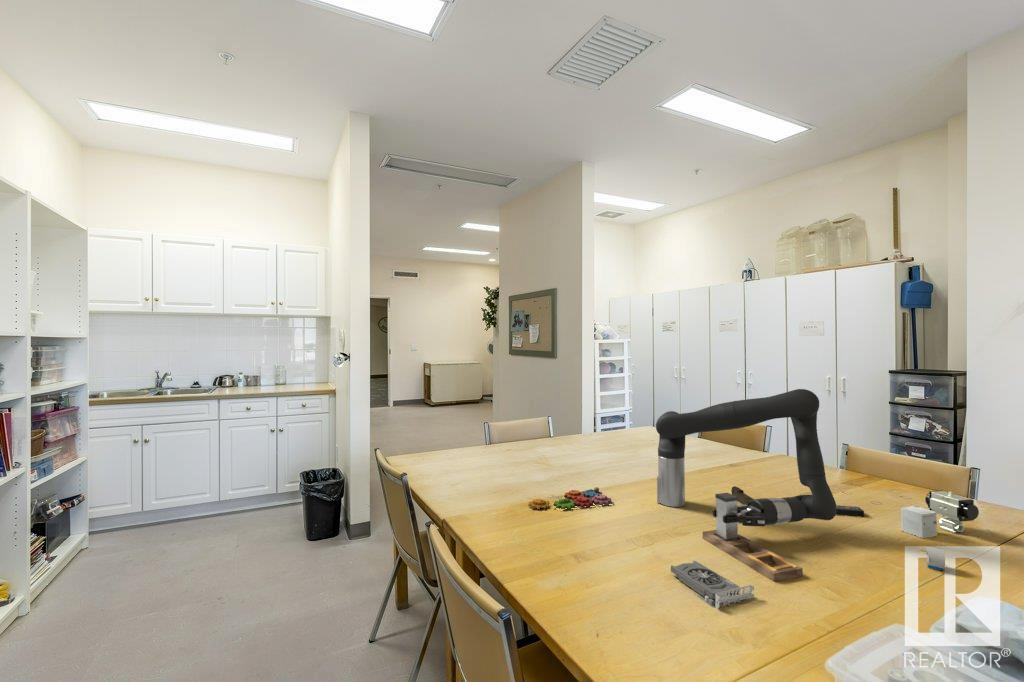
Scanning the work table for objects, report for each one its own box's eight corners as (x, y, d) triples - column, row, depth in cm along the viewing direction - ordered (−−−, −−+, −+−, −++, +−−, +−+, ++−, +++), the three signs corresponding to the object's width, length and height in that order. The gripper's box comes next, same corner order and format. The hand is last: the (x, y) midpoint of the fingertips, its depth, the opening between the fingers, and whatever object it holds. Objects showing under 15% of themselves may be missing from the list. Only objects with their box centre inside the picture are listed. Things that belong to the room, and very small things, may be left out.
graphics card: (758, 586, 105) (717, 595, 101) (758, 603, 105) (717, 613, 100) (703, 555, 121) (666, 562, 116) (703, 570, 120) (666, 577, 116)
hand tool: (767, 515, 155) (767, 501, 155) (756, 515, 155) (755, 502, 155) (739, 496, 174) (739, 484, 174) (729, 497, 174) (728, 484, 174)
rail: (702, 538, 137) (702, 530, 137) (727, 534, 140) (727, 527, 140) (773, 581, 112) (773, 572, 112) (802, 576, 115) (802, 567, 115)
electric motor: (918, 559, 123) (918, 540, 123) (943, 564, 120) (942, 545, 120) (920, 569, 118) (919, 550, 118) (945, 575, 115) (945, 555, 115)
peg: (716, 541, 135) (715, 494, 135) (727, 539, 136) (727, 492, 136) (726, 547, 131) (725, 498, 131) (738, 545, 132) (737, 497, 132)
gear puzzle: (535, 516, 157) (534, 504, 157) (521, 501, 173) (521, 490, 173) (615, 506, 166) (615, 495, 166) (595, 492, 182) (595, 482, 182)
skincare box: (922, 539, 135) (922, 514, 135) (900, 531, 141) (900, 507, 141) (937, 536, 137) (937, 512, 137) (914, 528, 143) (914, 505, 143)
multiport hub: (864, 518, 153) (864, 511, 153) (815, 514, 157) (815, 507, 157) (858, 513, 157) (858, 506, 157) (810, 509, 161) (810, 503, 161)
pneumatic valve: (937, 522, 147) (936, 485, 147) (979, 538, 136) (979, 497, 136) (922, 524, 146) (922, 486, 146) (964, 539, 135) (963, 498, 135)
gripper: (752, 491, 144) (703, 495, 140) (788, 507, 130) (734, 512, 126) (752, 515, 144) (703, 519, 140) (788, 533, 130) (734, 539, 126)
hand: (718, 516), depth 133 cm, fingers closed on peg, 4 cm apart
